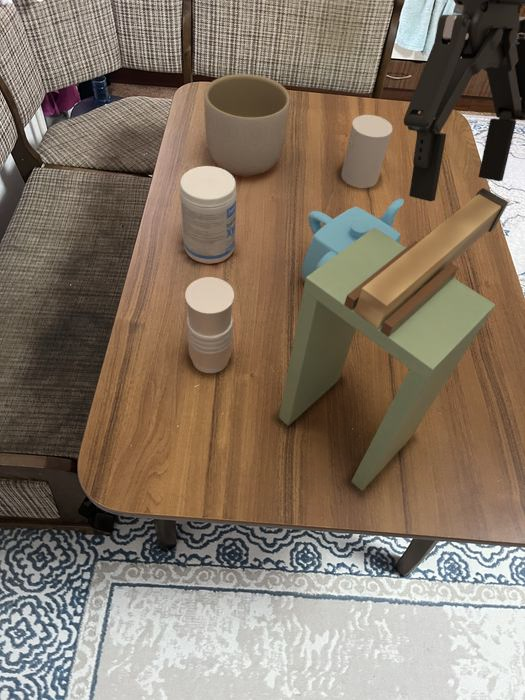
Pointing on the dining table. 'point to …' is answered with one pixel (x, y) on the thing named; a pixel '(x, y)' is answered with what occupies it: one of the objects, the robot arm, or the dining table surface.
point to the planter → (245, 122)
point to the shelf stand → (380, 340)
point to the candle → (209, 323)
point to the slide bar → (429, 257)
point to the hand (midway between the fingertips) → (458, 188)
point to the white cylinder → (366, 150)
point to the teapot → (344, 233)
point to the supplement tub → (208, 213)
